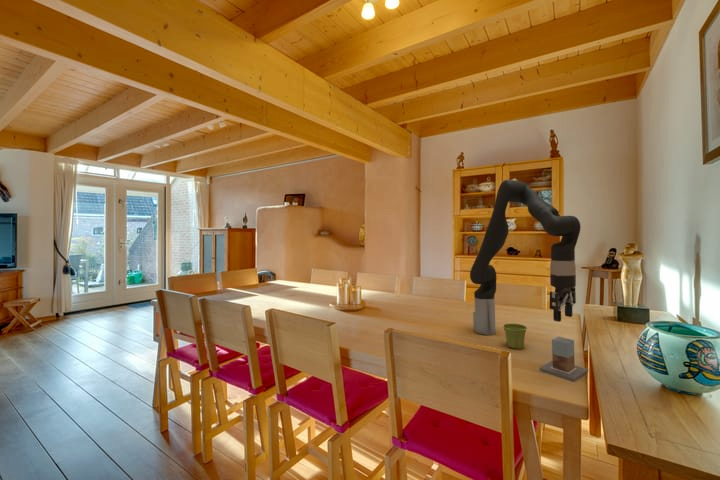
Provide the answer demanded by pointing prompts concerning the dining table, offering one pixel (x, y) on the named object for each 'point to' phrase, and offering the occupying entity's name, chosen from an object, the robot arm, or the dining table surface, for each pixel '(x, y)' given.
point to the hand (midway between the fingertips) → (563, 318)
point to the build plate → (571, 375)
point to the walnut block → (563, 363)
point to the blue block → (563, 347)
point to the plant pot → (515, 335)
